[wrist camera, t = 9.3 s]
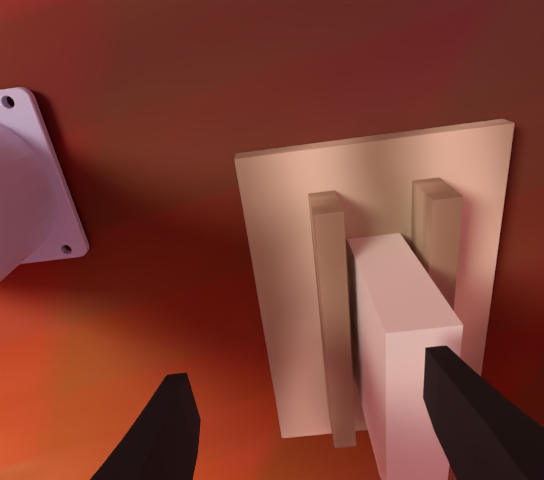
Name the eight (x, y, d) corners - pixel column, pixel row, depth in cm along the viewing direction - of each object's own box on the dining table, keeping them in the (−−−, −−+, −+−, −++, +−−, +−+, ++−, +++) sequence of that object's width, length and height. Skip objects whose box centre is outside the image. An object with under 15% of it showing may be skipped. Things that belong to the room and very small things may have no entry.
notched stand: (281, 424, 27) (283, 476, 23) (235, 153, 19) (229, 176, 16) (468, 406, 26) (495, 456, 23) (502, 118, 18) (551, 135, 15)
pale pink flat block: (354, 378, 24) (386, 501, 17) (347, 238, 20) (385, 333, 13) (398, 373, 23) (447, 495, 17) (400, 232, 19) (464, 324, 13)
